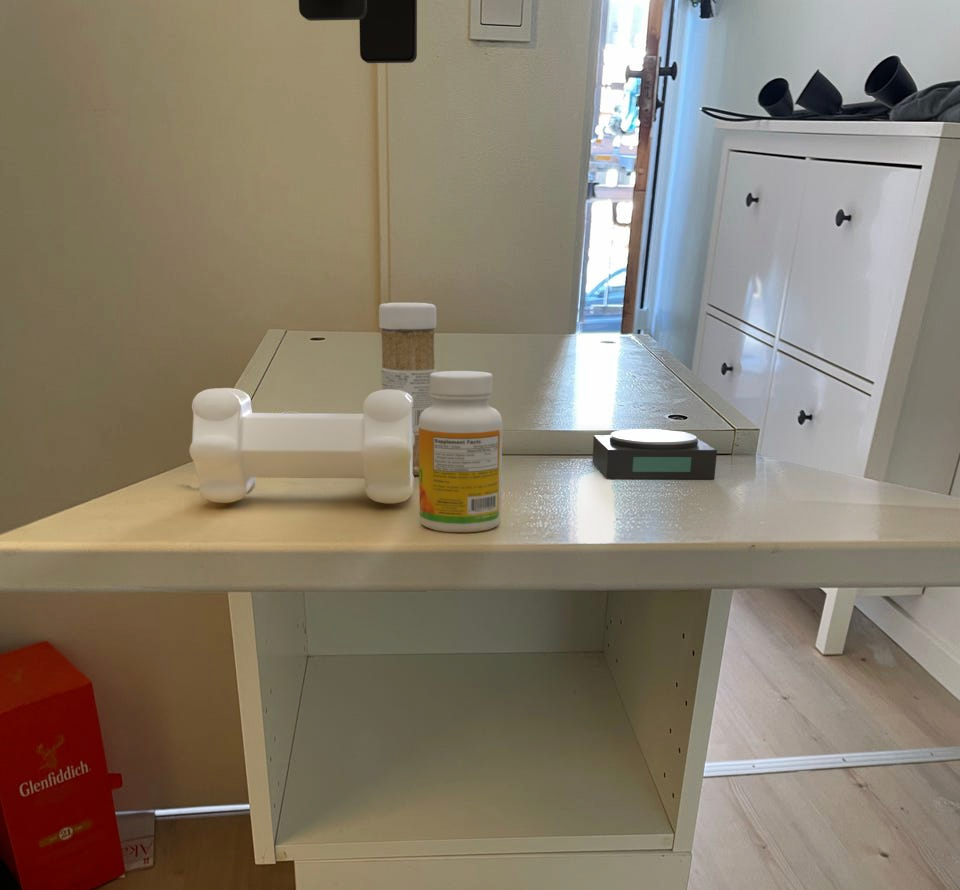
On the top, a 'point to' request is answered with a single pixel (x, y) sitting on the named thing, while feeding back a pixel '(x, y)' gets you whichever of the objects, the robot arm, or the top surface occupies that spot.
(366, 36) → the robot arm
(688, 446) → the scale
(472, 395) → the supplement bottle
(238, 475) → the white bone
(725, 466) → the top surface
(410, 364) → the sprinkles bottle
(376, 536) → the top surface
